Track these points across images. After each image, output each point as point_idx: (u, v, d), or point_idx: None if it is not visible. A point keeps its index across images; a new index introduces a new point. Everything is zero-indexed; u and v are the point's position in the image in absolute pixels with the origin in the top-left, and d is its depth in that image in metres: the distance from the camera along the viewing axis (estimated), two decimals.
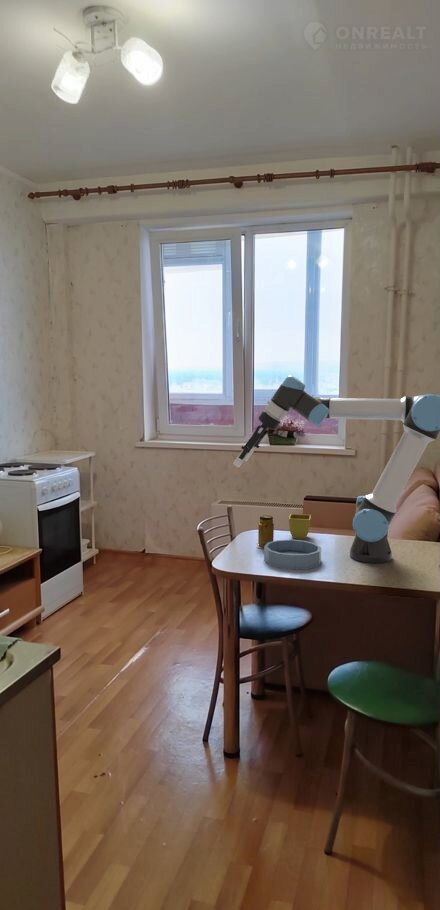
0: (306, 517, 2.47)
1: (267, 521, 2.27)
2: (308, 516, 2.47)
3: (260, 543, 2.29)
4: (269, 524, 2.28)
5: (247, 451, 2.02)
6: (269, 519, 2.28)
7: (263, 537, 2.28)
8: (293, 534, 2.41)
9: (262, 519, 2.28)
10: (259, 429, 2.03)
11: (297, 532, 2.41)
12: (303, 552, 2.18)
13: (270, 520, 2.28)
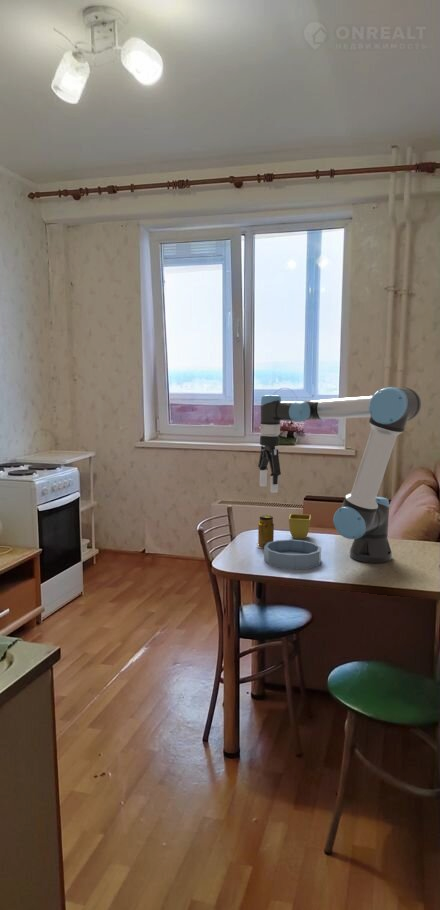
0: (306, 517, 2.47)
1: (267, 521, 2.27)
2: (308, 516, 2.47)
3: (260, 543, 2.29)
4: (269, 524, 2.28)
5: (279, 474, 2.17)
6: (269, 519, 2.28)
7: (263, 537, 2.28)
8: (293, 534, 2.41)
9: (262, 519, 2.28)
10: (274, 451, 2.19)
11: (297, 532, 2.41)
12: (303, 552, 2.18)
13: (270, 520, 2.28)
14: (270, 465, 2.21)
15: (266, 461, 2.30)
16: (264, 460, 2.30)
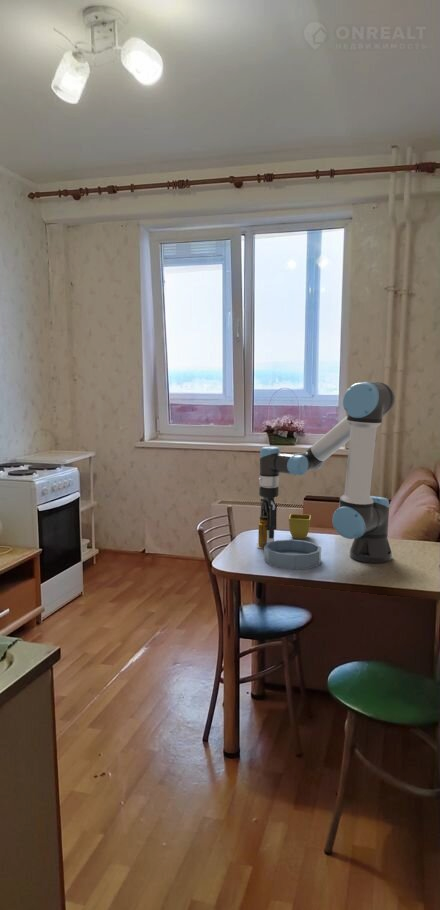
0: (306, 517, 2.47)
1: (267, 521, 2.27)
2: (308, 516, 2.47)
3: (260, 543, 2.29)
4: None
5: None
6: None
7: (263, 537, 2.28)
8: (293, 534, 2.41)
9: (262, 519, 2.28)
10: (272, 507, 2.23)
11: (297, 532, 2.41)
12: (303, 552, 2.18)
13: None
14: (267, 518, 2.26)
15: (267, 513, 2.32)
16: (265, 512, 2.31)
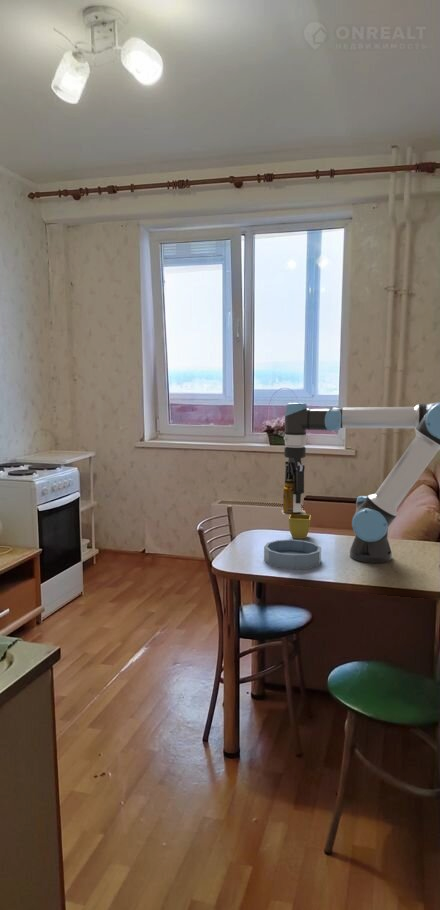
0: (306, 517, 2.47)
1: (293, 485, 2.06)
2: (308, 516, 2.47)
3: (286, 509, 2.08)
4: None
5: (302, 492, 2.03)
6: None
7: (288, 503, 2.07)
8: (293, 534, 2.41)
9: (288, 482, 2.07)
10: (300, 468, 2.02)
11: (297, 532, 2.41)
12: (303, 552, 2.18)
13: None
14: (294, 481, 2.06)
15: (293, 477, 2.11)
16: (290, 476, 2.11)
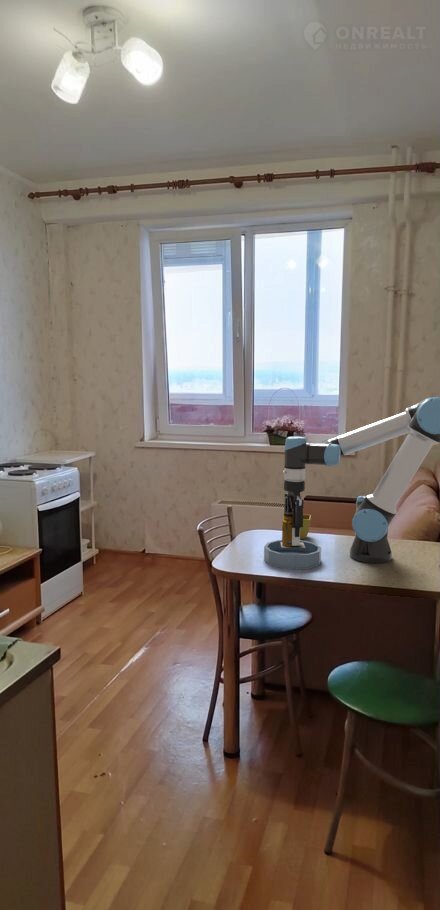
0: (306, 517, 2.47)
1: (292, 518, 2.08)
2: (308, 516, 2.47)
3: (284, 542, 2.09)
4: None
5: (301, 526, 2.05)
6: None
7: (287, 536, 2.08)
8: None
9: (287, 516, 2.08)
10: (299, 503, 2.03)
11: None
12: (303, 552, 2.18)
13: None
14: (293, 515, 2.07)
15: (292, 510, 2.12)
16: (289, 508, 2.12)
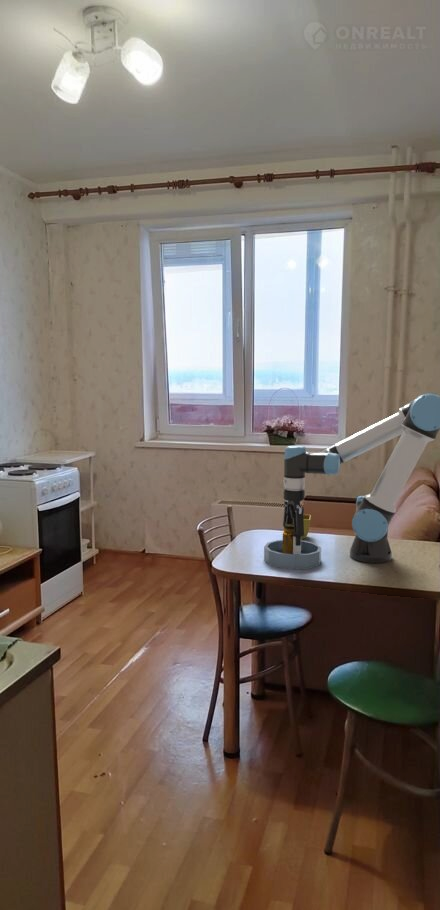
0: (306, 517, 2.47)
1: (292, 531, 2.08)
2: (308, 516, 2.47)
3: None
4: None
5: (302, 535, 2.04)
6: None
7: (288, 548, 2.09)
8: None
9: (287, 528, 2.09)
10: (299, 511, 2.03)
11: None
12: (303, 552, 2.18)
13: None
14: (293, 524, 2.07)
15: (291, 518, 2.13)
16: (289, 517, 2.13)
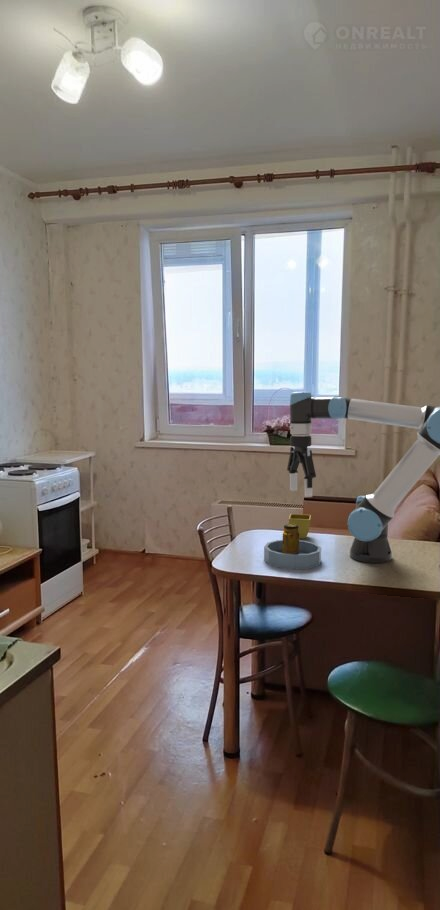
0: (306, 517, 2.47)
1: (292, 531, 2.08)
2: (308, 516, 2.47)
3: None
4: (295, 534, 2.08)
5: None
6: (295, 528, 2.08)
7: (288, 548, 2.09)
8: None
9: (287, 528, 2.09)
10: (307, 452, 2.02)
11: None
12: (303, 552, 2.18)
13: (296, 529, 2.09)
14: (303, 467, 2.04)
15: (297, 463, 2.14)
16: (294, 462, 2.13)
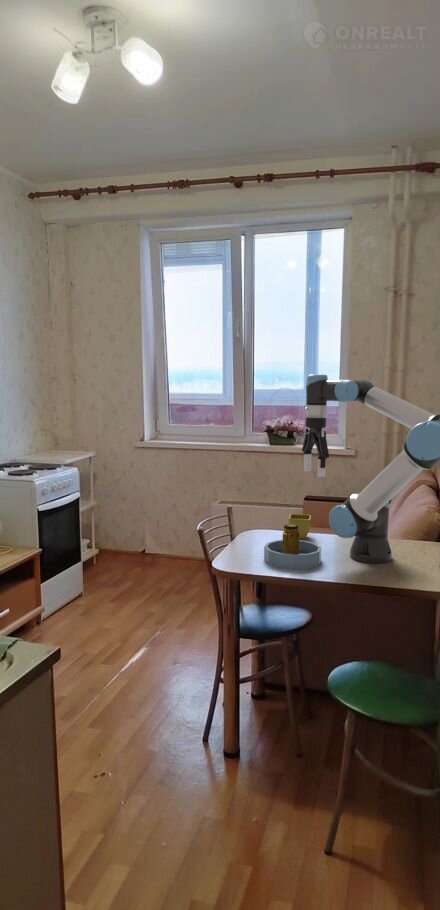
0: (306, 517, 2.47)
1: (292, 531, 2.08)
2: (308, 516, 2.47)
3: None
4: (295, 534, 2.08)
5: (327, 457, 2.06)
6: (295, 528, 2.08)
7: (288, 548, 2.09)
8: None
9: (287, 528, 2.09)
10: (321, 433, 2.08)
11: None
12: (303, 552, 2.18)
13: (296, 529, 2.09)
14: (317, 448, 2.10)
15: (311, 444, 2.20)
16: (309, 443, 2.19)
